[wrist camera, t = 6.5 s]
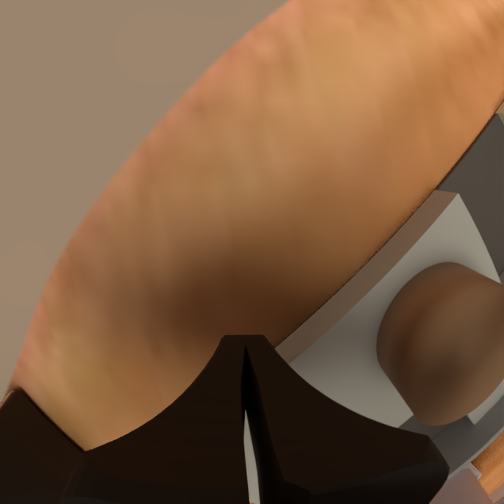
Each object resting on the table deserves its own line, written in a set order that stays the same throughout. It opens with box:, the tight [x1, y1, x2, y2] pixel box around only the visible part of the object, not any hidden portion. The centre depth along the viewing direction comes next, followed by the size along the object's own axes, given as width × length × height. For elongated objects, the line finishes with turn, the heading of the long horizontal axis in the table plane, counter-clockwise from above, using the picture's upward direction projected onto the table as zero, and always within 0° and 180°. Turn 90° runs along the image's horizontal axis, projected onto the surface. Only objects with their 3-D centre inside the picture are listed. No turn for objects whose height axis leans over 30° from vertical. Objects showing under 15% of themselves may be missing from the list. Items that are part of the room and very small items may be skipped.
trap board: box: [244, 101, 504, 504], centre depth 11 cm, size 15×28×3 cm, turn 135°
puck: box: [376, 262, 504, 426], centre depth 9 cm, size 6×6×3 cm
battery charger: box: [0, 390, 83, 504], centre depth 8 cm, size 7×4×11 cm, turn 32°
